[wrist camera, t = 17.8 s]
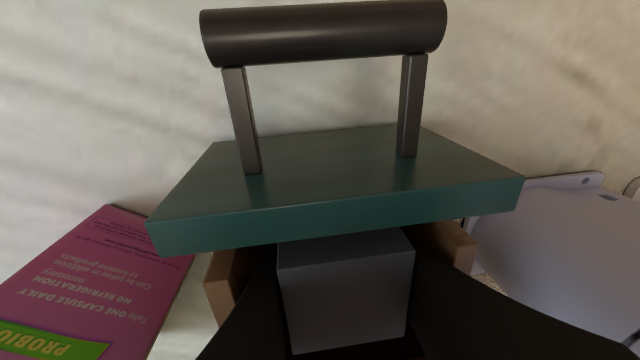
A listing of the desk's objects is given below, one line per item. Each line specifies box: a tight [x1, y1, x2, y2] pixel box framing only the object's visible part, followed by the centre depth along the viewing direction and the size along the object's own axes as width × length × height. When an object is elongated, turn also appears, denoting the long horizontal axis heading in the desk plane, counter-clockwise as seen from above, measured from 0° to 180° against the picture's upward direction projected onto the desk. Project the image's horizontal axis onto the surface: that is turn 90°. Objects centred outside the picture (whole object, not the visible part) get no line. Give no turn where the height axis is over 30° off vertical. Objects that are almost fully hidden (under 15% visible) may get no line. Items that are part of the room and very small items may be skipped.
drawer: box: [144, 0, 526, 360], centre depth 11 cm, size 17×10×7 cm, turn 4°
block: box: [277, 227, 416, 355], centre depth 11 cm, size 4×4×4 cm
